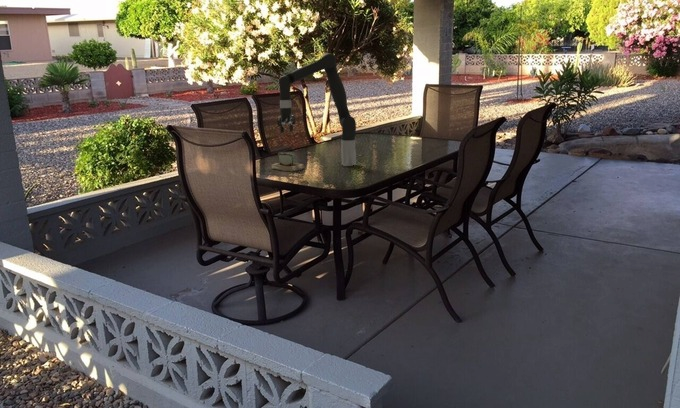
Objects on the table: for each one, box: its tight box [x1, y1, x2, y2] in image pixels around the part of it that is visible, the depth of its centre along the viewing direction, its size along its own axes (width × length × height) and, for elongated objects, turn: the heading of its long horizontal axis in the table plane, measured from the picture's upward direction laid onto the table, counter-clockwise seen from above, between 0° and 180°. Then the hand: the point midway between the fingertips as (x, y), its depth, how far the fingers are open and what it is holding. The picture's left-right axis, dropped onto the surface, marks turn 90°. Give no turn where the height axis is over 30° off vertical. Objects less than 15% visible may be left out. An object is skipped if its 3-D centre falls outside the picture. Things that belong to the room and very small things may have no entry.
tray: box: [271, 162, 305, 172], centre depth 388 cm, size 12×18×3 cm, turn 51°
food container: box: [277, 151, 296, 166], centre depth 388 cm, size 12×6×10 cm, turn 58°
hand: (286, 131), depth 386 cm, fingers open, 8 cm apart
